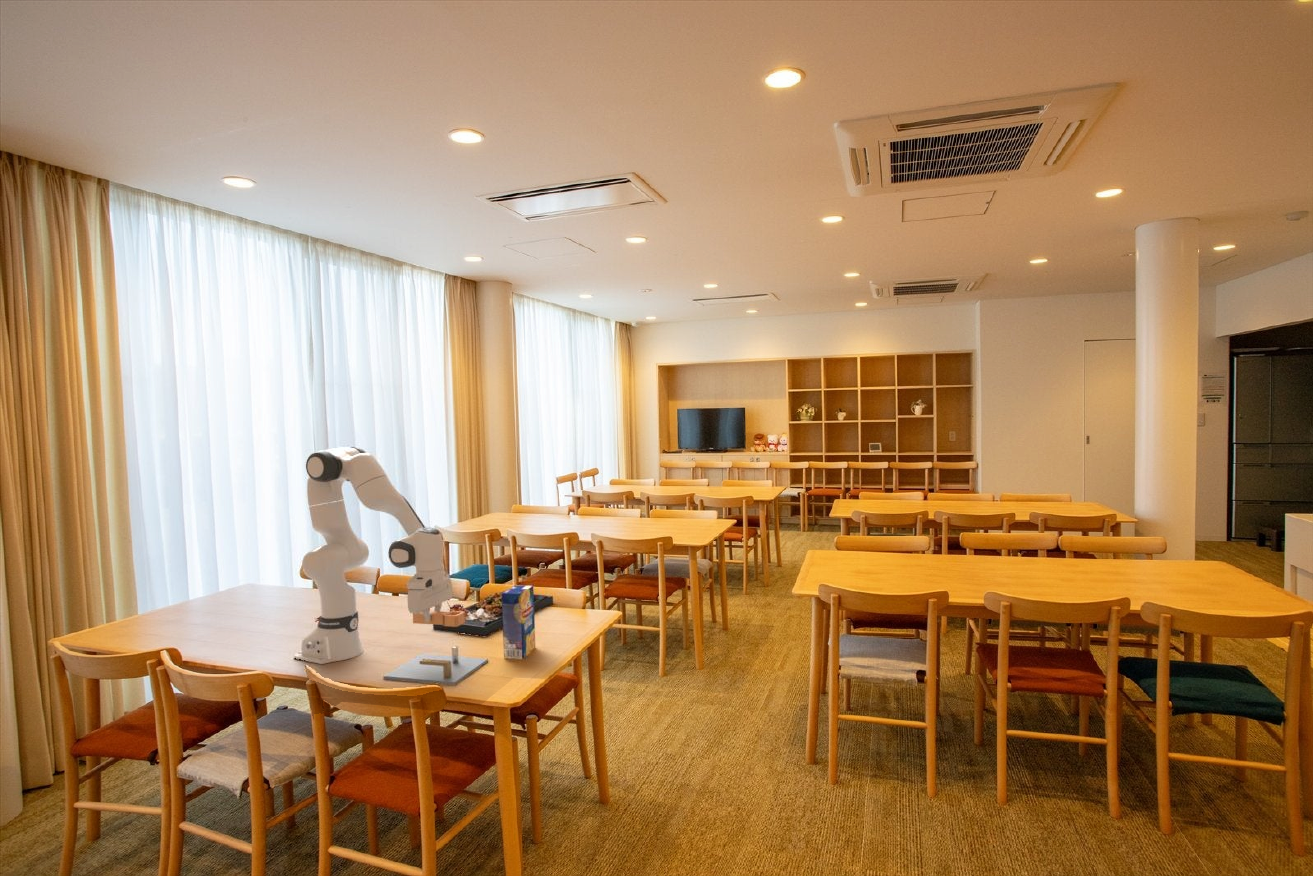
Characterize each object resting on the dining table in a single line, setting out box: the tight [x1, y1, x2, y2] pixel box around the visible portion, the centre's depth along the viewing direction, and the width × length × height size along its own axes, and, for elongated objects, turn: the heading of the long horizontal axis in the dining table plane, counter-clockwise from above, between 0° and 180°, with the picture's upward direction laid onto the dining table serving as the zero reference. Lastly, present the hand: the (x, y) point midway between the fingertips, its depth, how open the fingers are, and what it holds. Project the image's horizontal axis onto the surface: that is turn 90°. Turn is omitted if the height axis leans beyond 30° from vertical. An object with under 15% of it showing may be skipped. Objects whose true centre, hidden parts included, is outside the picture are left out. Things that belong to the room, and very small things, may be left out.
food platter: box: [432, 590, 554, 637], centre depth 276 cm, size 45×25×10 cm, turn 155°
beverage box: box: [502, 584, 536, 659], centre depth 231 cm, size 7×11×22 cm, turn 169°
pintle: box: [451, 645, 459, 663], centre depth 222 cm, size 2×2×5 cm
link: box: [412, 610, 466, 627], centre depth 224 cm, size 17×5×3 cm, turn 75°
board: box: [382, 653, 489, 686], centre depth 219 cm, size 25×20×1 cm
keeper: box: [420, 659, 452, 679], centre depth 211 cm, size 10×2×5 cm, turn 75°
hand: (432, 619), depth 224 cm, fingers closed on link, 3 cm apart
